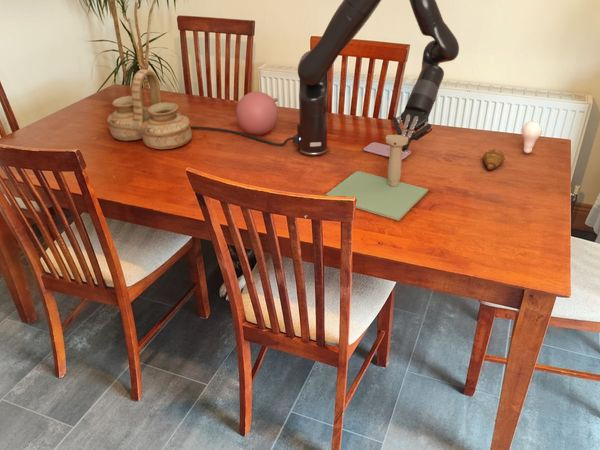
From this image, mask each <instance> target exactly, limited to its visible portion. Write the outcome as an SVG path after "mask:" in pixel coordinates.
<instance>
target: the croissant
mask: <svg viewBox="0 0 600 450" xmlns="http://www.w3.org/2000/svg"><path fill="white" fill-rule="evenodd" d="M482 158H483V160H484V161H483V162H484V165H485V168H486V170H488V171H494V170H495V169H497V168H498V167H499V166H500V165H501V164H502V163H503V162H504V161H505V160H506V158H505V154H504V152H503V151H501V150H499V149H496V148H494V149H488V150H487V151H486V152H485V153H484V154H483V156H482Z"/></svg>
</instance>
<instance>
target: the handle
mask: <svg viewBox="0 0 600 450" xmlns="http://www.w3.org/2000/svg"><path fill="white" fill-rule="evenodd" d="M385 143H386V145H389V146H390V156H389V157H388V164H387V178H388V180H389V181H388V185H390V186H391V187H394V186H398V184H399V182H400V179H401V175H402V167H403V165H402V164H403V163H402V162H403V161H402V147H403V146H405V145H406V144H408V137H406V136H402V135H398V134H388V135H386V136H385Z"/></svg>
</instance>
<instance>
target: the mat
mask: <svg viewBox="0 0 600 450" xmlns="http://www.w3.org/2000/svg"><path fill="white" fill-rule="evenodd" d="M388 181H389V180H388V177H385V176H384V177H383V176H380V175H376V174H372V173H368V172H366V171H365V172H364V171H360V170H355V171H354V172H353V173H352V174H350V175H349V176H348V177H346V178H345V179H344V180H342V181H341V182H339V183H338V184H336V186H334V187H333V188H332V189H330V190H329V191H328V192H326V193H325V194H324V195H328V196H346V197H356V199H357V202H356V208H355V209H357V210H361V211H364V212H369V213H371V214H375V215H378V216H382V217H384V218H387V219H391V220H395V221H397V222H398V221H400V220H401V219H402V218H403V217H404V216H405V215H406V214H407V213H408V212H409V211H410V210H411V209H412V208H413V207H414V206H415V205H416V204H417V203H418V202H419V201H420V200H421V199H422V198H423V197H424V196H425V195H426V194H428V193H429V189H428V188H426V187H421V186H418V185H415V184H410V183H406V182H402V181H399V184H398V186H394V187H391V186H390V185H388Z"/></svg>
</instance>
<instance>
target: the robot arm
mask: <svg viewBox="0 0 600 450" xmlns="http://www.w3.org/2000/svg"><path fill="white" fill-rule="evenodd" d="M408 1H409V4H410V7H411V10H412V13H413V15H414V18H415V20H416V23H417V26H418V28H419V31H420V33H421V34H422V36H425V37H430V38H432V39H433V40H431V41H429V42H428V43H427V44H426V45H425V47H424V49H423V53H422V61H421V68H420V69H421V70H420V72H419V74H418V77H417V79H416V82H415V84H414V86H413V87H412V89H411V92H410V94H409V97H408V99H407V102H406V104H405V108H404V110H403V111H402V112H401V114H400V115H399V116H397V117H396V116H392V118H391V119H392V123H393V126H394V129H395V132H396V135H402V136H406V137H408V144H406V145H405V146H403V147H402V151H403V152H405V150H409V147H410V145H411V143H412V141H419V140H420V139H422V138H423V137H425V136H426V135H428V134H429V133H431V132H432V131H433V126H432V125H431V123H429V117H430V115H431V112H432V109H433V107H434V104H435V103H436V100H437V97H438V93H439V90H440V87H441V84H442V82H443V80H444V77H445V70H444V69H443V67H441V66H439V65H440V64H442V63H448V62H452V61H455V60H456V59H457V57H458V55H459V53H460V44H459V42H458V39H457V37H456V36H455V35H454V33H453V32H452V31H451V29H450V28H449V26H448V25H447V24H446V22H445V21H444V19H443V16H442V13H441V10H440V7H439V5H438V3H437V1H436V0H408ZM381 2H382V0H342V2H341V3H340V5H338V7H337V9H335V10H336V11H335V12H334V13H333V15H332V17H331V19H330V21H329V22H328V24H327V26H326V28H325V30H324V32H323V34H322V36H321V38H319V41H318V42H316V44H315V45H314V46H313V48H312V49H311V50H308V51H306V52H304V53H303V55H302V56H301V57H300V59H299V62H298V64H297V75H298V78H299V89H298V90H299V91H298V107H299V108H298V110H299V111H298V112H299V113H298V114H299V123H297V126H296V134H295V135H293V136H291V137H288V138H286V139H285V140H284V142H282V143H281V142H280V143H277V142H274V141H273V142H272V141H269V140H267V139H264V138H259V137H257V136H256V135H255V136H254V135H253V134H249V133H244V132H241V131H236V130H232V129H227V128H218V127H212V126H211V127H209V126H193V125H190V127H191V130H193V129H195V130H207V131H219V132H225V133H231V134H234V135H235V134H236V135H240V136H244V137H246V138H251V139H254V140H256V141H258V142H262V143H265V144H269V145H272V146H278V147H283V146H285V145H286V144H287V143H288V142H289V141H292V144H294V145H297V152H300V153H301V154H302V155H304V156H309V157H316V156H322V155H324V154H326V153H327V152H328V92H329V91H328V90H329V84H328V83H329V71H330V70H331V68H332V66H333V65H334V63H335V61H336V60H337V58H338V57H339V55H341V53H342V51H343V50H344V49H346V47H347V46H348V45H349V44H350V43H351V41H353V39H354V38H355V37H356V36H357V34H358V33H359V32H360V31H361V30H362V29H363V28H364V26H365V25H366V23H367V22H368V20H369V19H370V18H371V17H372V15H373V13H374V12H375V11H376V10H377V8H378V6H379V5H380V3H381ZM401 123H402V125H403V126H402V129H401V126H400V125H401Z"/></svg>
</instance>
